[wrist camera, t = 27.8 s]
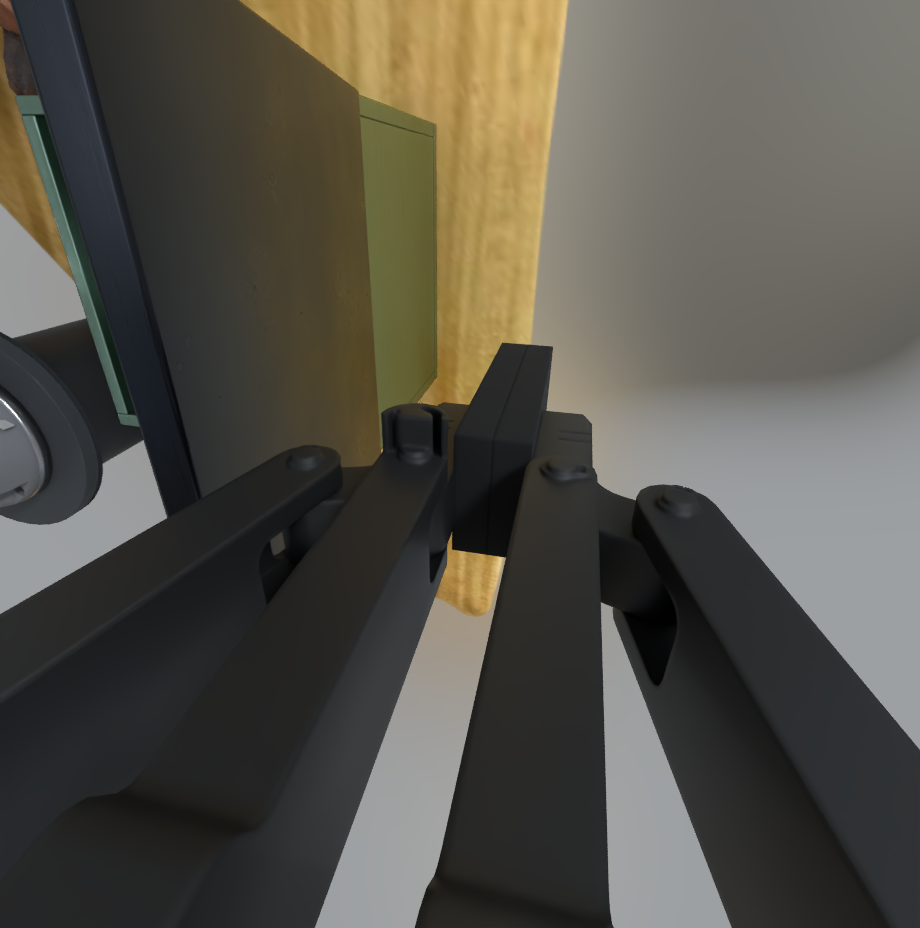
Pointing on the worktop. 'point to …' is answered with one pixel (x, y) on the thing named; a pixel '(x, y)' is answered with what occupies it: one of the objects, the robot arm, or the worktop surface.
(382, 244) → the green open box
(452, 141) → the worktop surface
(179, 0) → the box lid
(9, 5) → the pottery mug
